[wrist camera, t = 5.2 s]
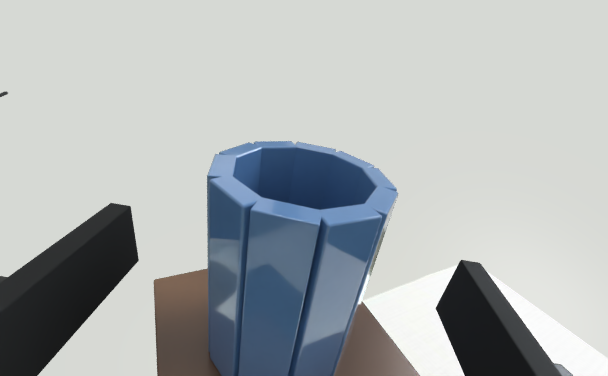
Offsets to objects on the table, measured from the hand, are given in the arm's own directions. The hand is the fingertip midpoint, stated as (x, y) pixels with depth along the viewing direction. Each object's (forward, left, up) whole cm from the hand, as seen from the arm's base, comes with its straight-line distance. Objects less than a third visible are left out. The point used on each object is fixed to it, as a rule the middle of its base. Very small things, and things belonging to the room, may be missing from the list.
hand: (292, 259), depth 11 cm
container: (-1, 0, -5) cm, 5 cm away
